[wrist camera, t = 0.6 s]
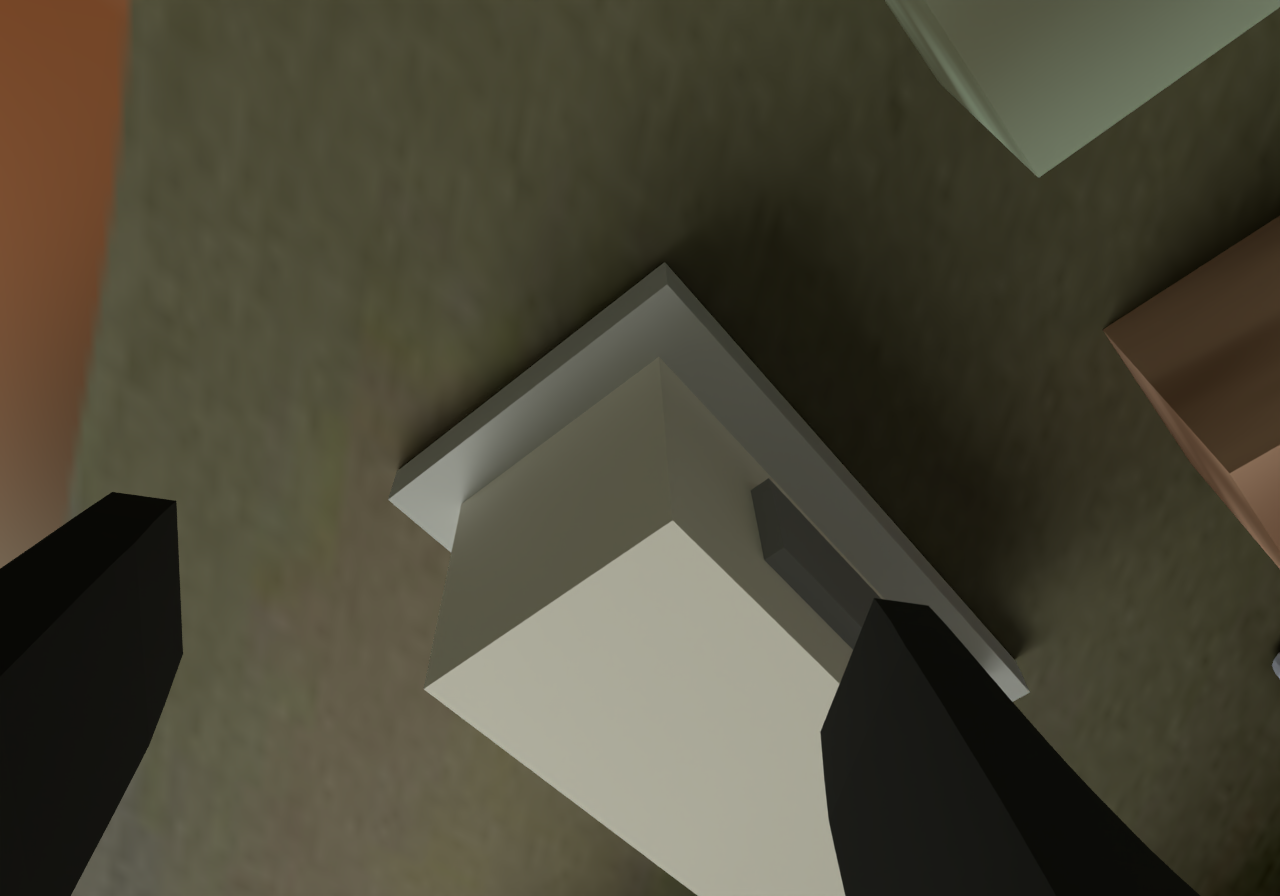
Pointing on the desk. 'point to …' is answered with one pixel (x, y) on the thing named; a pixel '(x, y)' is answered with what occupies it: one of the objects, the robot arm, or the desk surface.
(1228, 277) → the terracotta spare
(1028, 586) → the desk surface
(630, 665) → the mounted unit
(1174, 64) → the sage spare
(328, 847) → the desk surface
